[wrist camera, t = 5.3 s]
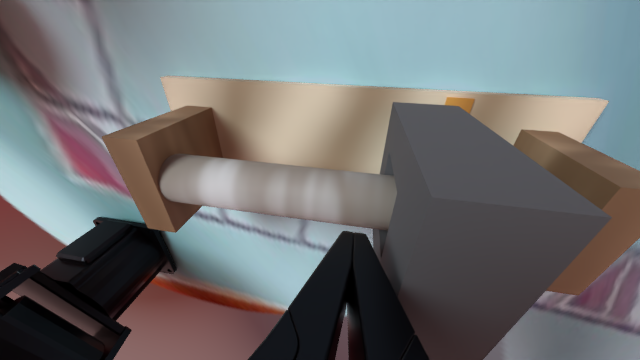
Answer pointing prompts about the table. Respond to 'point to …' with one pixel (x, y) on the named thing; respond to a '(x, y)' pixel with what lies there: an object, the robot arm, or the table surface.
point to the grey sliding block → (472, 229)
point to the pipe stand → (348, 155)
